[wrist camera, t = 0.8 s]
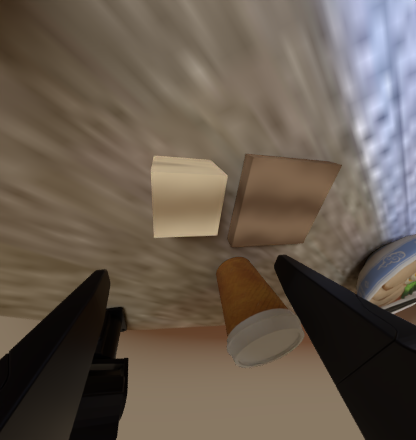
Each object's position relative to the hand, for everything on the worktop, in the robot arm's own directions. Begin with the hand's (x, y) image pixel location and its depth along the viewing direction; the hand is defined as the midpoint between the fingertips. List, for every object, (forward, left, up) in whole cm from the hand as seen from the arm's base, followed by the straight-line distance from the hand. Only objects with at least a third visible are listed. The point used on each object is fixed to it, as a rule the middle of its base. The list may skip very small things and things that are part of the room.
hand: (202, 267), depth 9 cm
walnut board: (-2, -13, -13) cm, 18 cm away
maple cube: (0, 0, -13) cm, 13 cm away
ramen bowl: (-15, -45, -13) cm, 49 cm away
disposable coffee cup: (-15, -10, -13) cm, 22 cm away
